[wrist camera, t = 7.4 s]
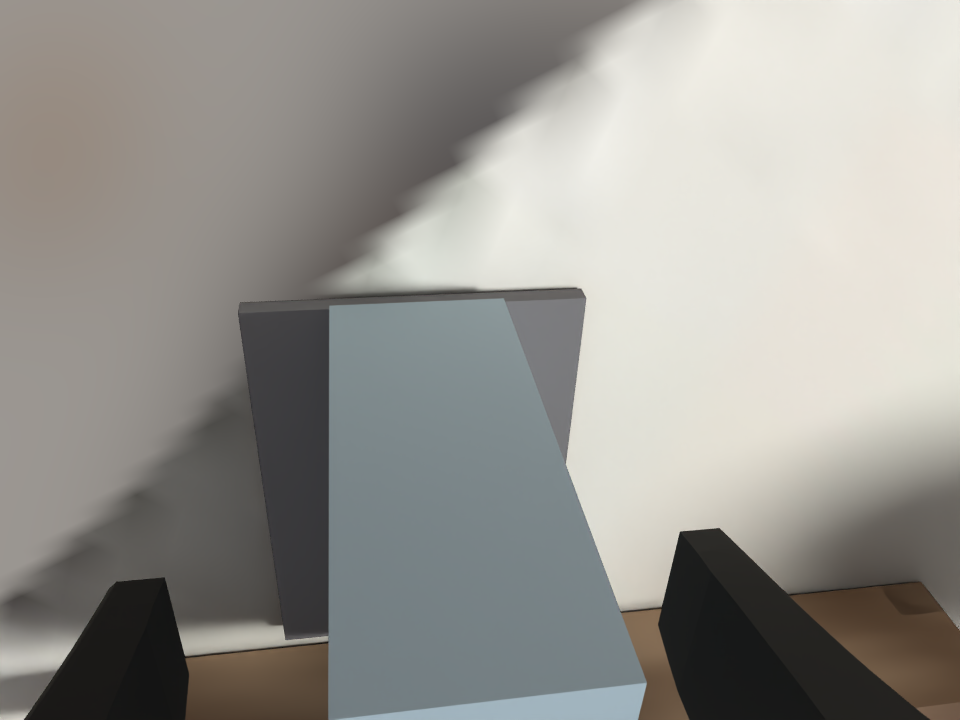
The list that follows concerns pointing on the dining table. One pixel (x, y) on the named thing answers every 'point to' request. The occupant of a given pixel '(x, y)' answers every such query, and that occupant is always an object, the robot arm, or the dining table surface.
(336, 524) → the pale blue tall box
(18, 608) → the dining table surface
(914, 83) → the dining table surface
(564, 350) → the dark grey panel
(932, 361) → the dining table surface
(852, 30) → the dining table surface
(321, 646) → the rack
